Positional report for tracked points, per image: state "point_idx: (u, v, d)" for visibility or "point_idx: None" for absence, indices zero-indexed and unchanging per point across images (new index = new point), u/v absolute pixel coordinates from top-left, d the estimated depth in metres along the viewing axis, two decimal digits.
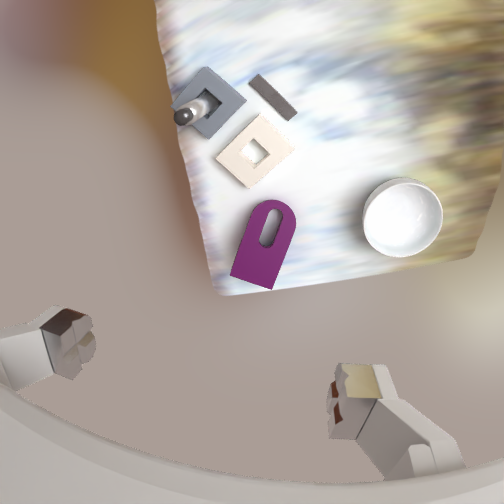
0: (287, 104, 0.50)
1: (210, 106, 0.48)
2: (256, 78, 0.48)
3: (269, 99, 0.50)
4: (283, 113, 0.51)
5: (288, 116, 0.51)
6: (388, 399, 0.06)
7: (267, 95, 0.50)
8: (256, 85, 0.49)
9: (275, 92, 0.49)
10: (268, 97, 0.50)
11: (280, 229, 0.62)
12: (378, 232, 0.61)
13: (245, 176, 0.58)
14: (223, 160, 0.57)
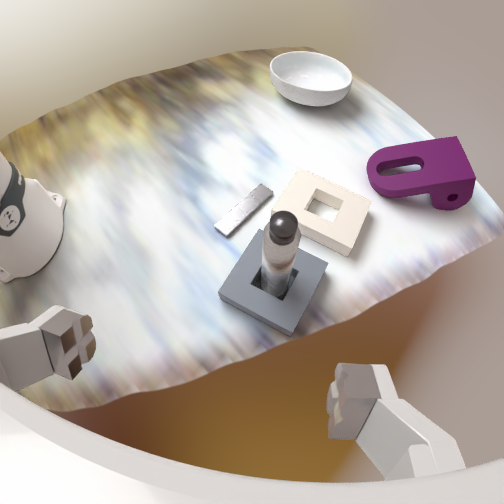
0: (252, 193, 0.45)
1: None
2: (220, 227, 0.42)
3: (247, 211, 0.44)
4: (264, 196, 0.45)
5: (267, 191, 0.45)
6: (388, 399, 0.06)
7: (242, 214, 0.43)
8: (229, 226, 0.42)
9: (238, 206, 0.44)
10: (244, 212, 0.44)
11: (395, 158, 0.45)
12: None
13: (358, 208, 0.42)
14: (350, 238, 0.40)
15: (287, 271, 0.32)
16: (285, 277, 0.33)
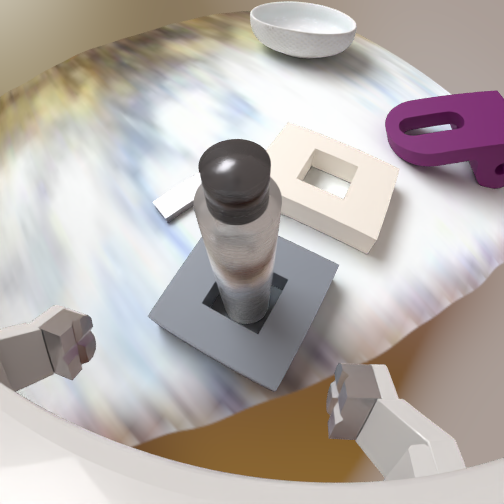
0: None
1: None
2: (160, 205, 0.27)
3: None
4: None
5: None
6: (388, 399, 0.06)
7: None
8: (173, 205, 0.27)
9: (195, 178, 0.28)
10: None
11: (423, 113, 0.29)
12: None
13: (381, 179, 0.26)
14: (372, 222, 0.23)
15: (260, 283, 0.16)
16: (259, 294, 0.17)
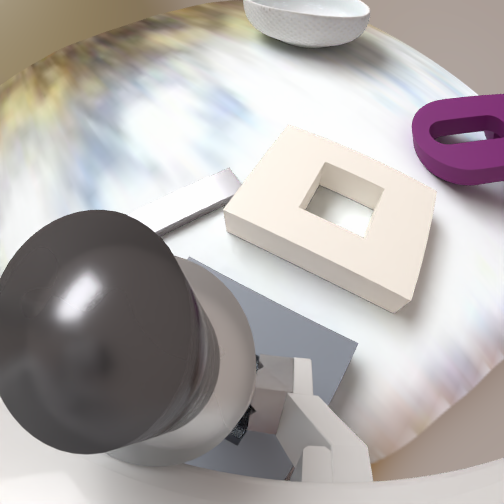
0: (201, 183, 0.21)
1: None
2: None
3: (173, 217, 0.20)
4: (222, 194, 0.21)
5: (233, 186, 0.21)
6: (300, 394, 0.07)
7: (161, 219, 0.20)
8: None
9: (162, 202, 0.21)
10: (167, 217, 0.20)
11: (458, 116, 0.21)
12: None
13: (415, 206, 0.18)
14: (405, 274, 0.16)
15: None
16: None
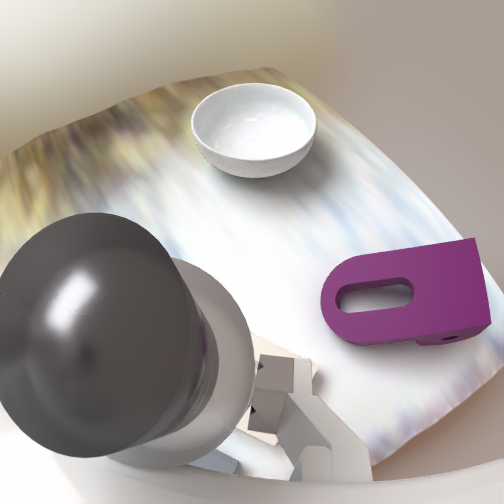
0: None
1: None
2: None
3: None
4: None
5: None
6: (299, 394, 0.07)
7: None
8: None
9: None
10: None
11: (368, 278, 0.30)
12: None
13: None
14: None
15: None
16: None
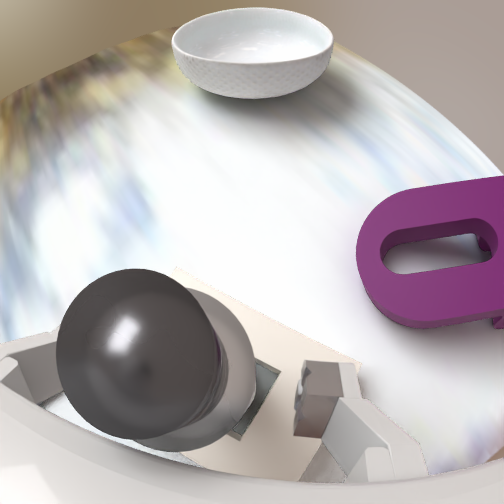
0: None
1: None
2: None
3: None
4: None
5: None
6: (350, 398, 0.07)
7: None
8: None
9: None
10: None
11: (429, 221, 0.18)
12: None
13: None
14: (281, 479, 0.12)
15: None
16: None
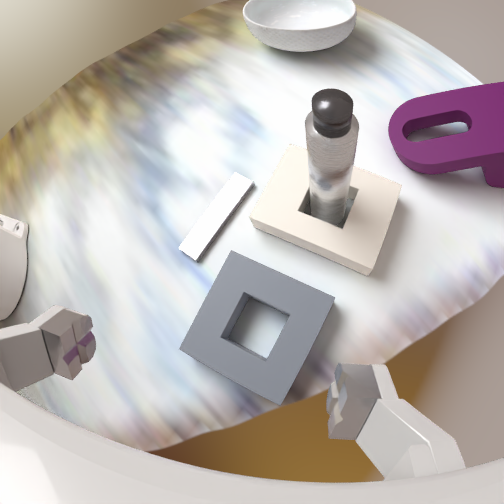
0: (224, 190, 0.32)
1: None
2: (186, 249, 0.30)
3: (220, 219, 0.31)
4: (241, 191, 0.31)
5: (245, 183, 0.31)
6: (388, 399, 0.06)
7: (213, 224, 0.31)
8: (197, 246, 0.30)
9: (207, 213, 0.31)
10: (216, 221, 0.31)
11: (428, 113, 0.27)
12: None
13: (381, 200, 0.26)
14: (369, 251, 0.25)
15: (345, 183, 0.22)
16: (343, 194, 0.23)
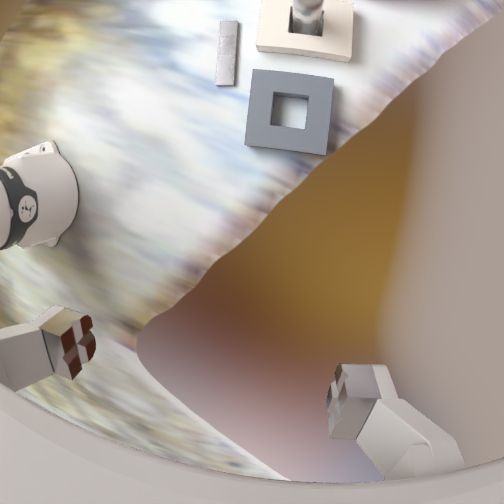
0: (221, 35, 0.33)
1: None
2: (221, 82, 0.35)
3: (232, 52, 0.34)
4: (234, 30, 0.33)
5: (232, 24, 0.33)
6: (388, 399, 0.06)
7: (230, 57, 0.34)
8: (228, 76, 0.35)
9: (220, 54, 0.34)
10: (230, 55, 0.34)
11: None
12: None
13: (342, 14, 0.29)
14: (345, 47, 0.30)
15: (320, 10, 0.25)
16: (319, 16, 0.27)
